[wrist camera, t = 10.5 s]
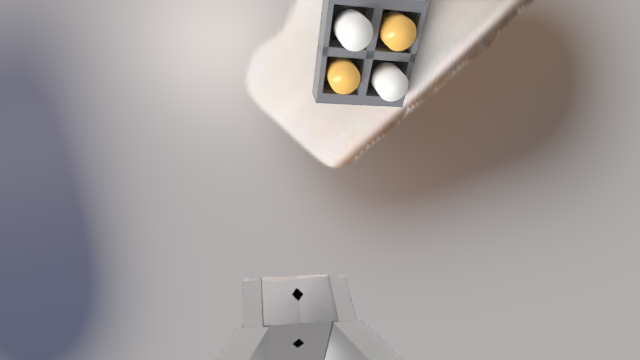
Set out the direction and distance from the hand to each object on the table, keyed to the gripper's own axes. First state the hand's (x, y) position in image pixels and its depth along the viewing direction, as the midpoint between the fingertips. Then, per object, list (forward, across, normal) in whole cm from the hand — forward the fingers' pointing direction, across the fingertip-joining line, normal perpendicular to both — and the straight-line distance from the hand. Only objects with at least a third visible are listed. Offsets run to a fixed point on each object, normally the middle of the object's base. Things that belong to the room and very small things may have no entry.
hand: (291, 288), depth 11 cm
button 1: (+28, -8, +3) cm, 30 cm away
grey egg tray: (+29, -10, 0) cm, 31 cm away
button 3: (+27, -8, -2) cm, 28 cm away
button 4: (+29, -12, -2) cm, 31 cm away
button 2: (+27, -12, +3) cm, 30 cm away
